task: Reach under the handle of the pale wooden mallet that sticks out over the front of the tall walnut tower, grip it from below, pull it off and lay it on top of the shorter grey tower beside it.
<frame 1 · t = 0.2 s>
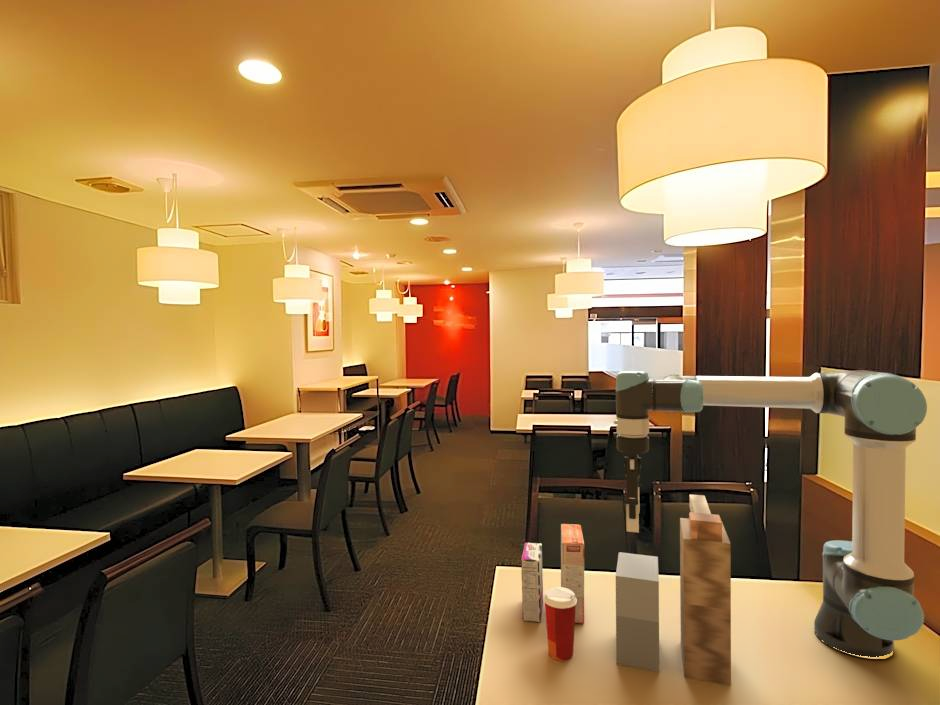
hand: (633, 521, 124), 28 cm above the table, tool pointing down, fingers open, 13 cm apart
short tower: (638, 650, 118), on the table
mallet: (701, 521, 117), point 30 cm above the table, touching tall tower
paper cup: (560, 654, 118), on the table
candy bar box: (532, 611, 136), on the table
cracker box: (572, 610, 136), on the table
tall tower: (704, 662, 113), on the table
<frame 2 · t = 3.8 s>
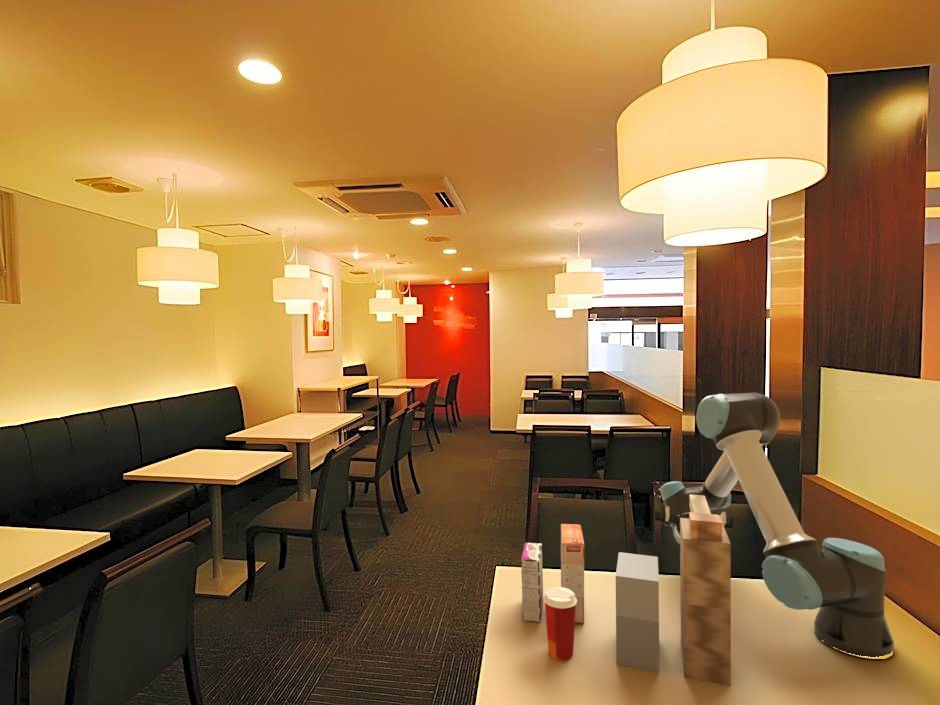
hand: (695, 514, 133), 26 cm above the table, tool pointing upward, fingers open, 13 cm apart
nothing on the table moved.
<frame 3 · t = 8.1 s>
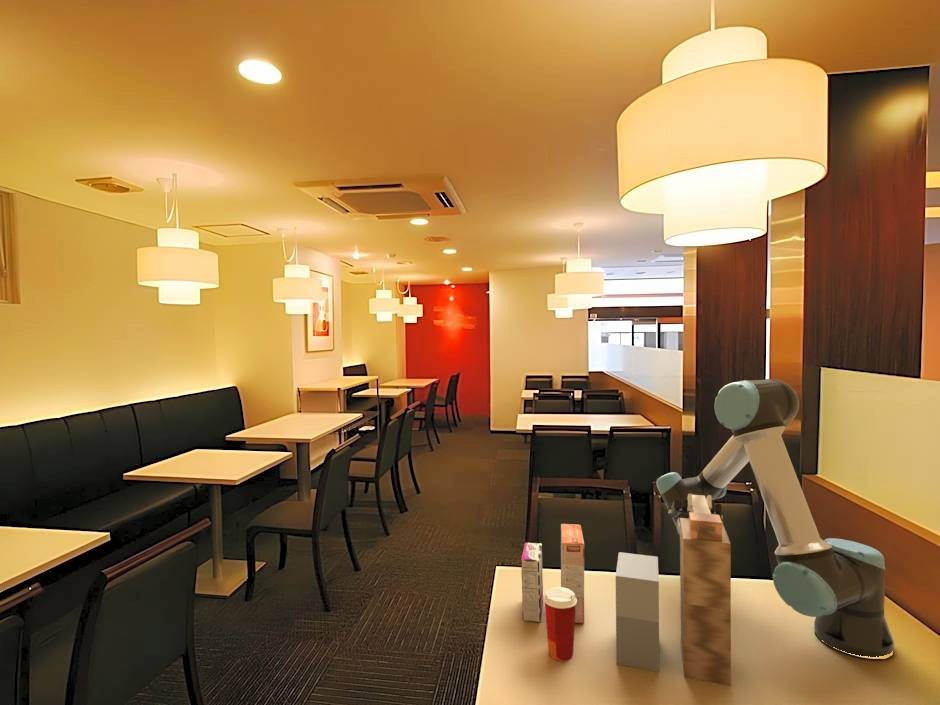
hand: (700, 500, 120), 34 cm above the table, tool pointing upward, fingers closed on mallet, 3 cm apart
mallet: (701, 521, 117), point 30 cm above the table, touching gripper, tall tower
everything else where it was.
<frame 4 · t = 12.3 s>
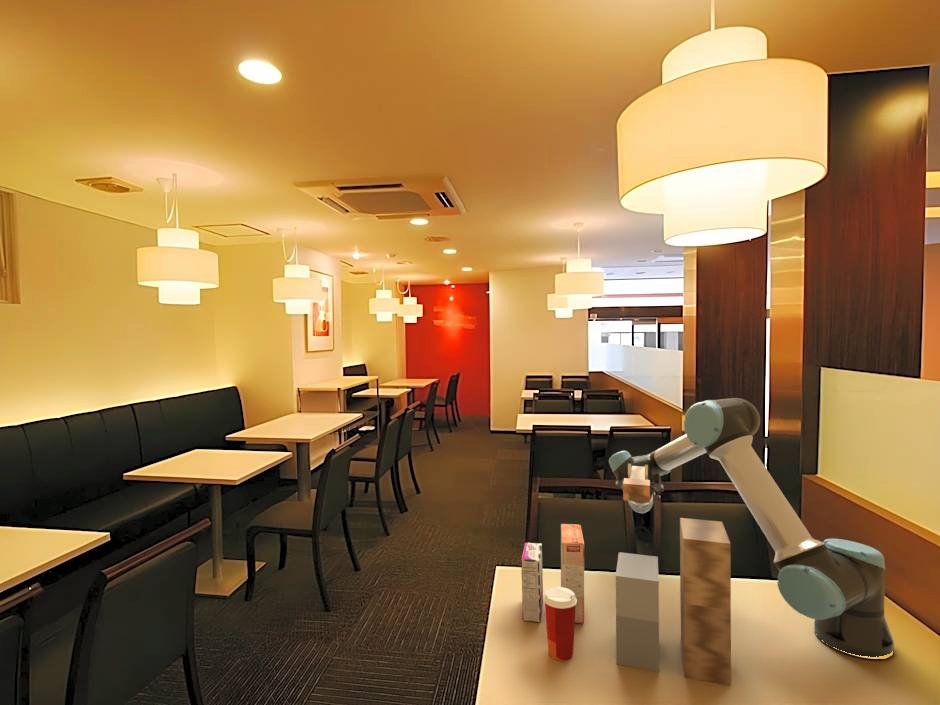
hand: (637, 469, 133), 38 cm above the table, tool pointing upward, fingers closed on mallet, 3 cm apart
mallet: (637, 488, 131), point 34 cm above the table, touching gripper
everything else where it was.
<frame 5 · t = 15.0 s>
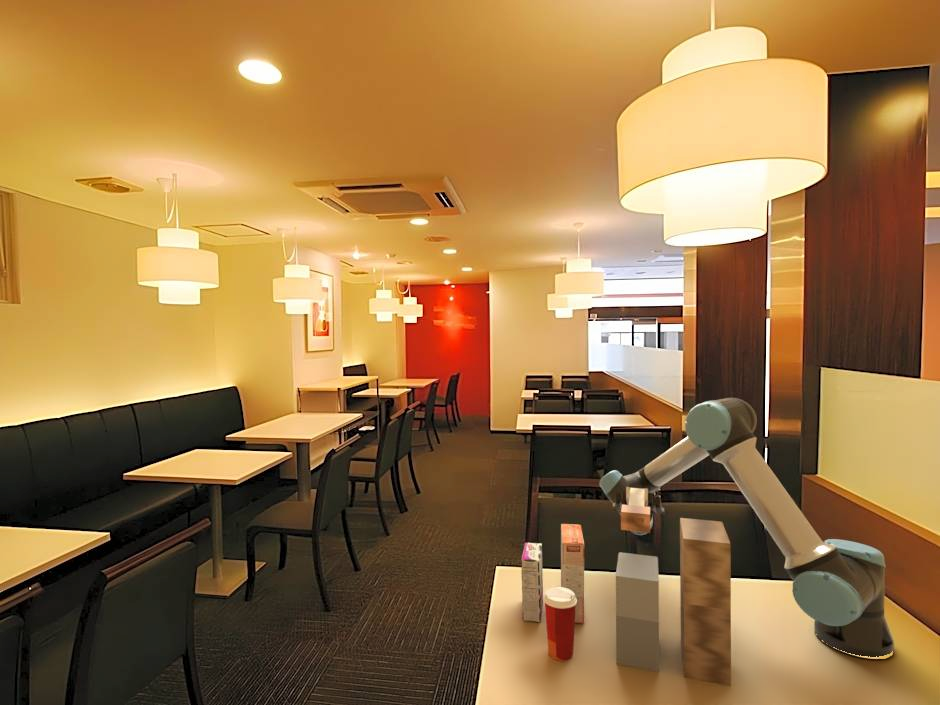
hand: (636, 493, 123), 35 cm above the table, tool pointing upward, fingers closed on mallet, 3 cm apart
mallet: (636, 514, 120), point 31 cm above the table, touching gripper
everything else where it was.
when the fingers open (27 cm above the table, at t = 17.0 s): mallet drops 3 cm, resting on short tower.
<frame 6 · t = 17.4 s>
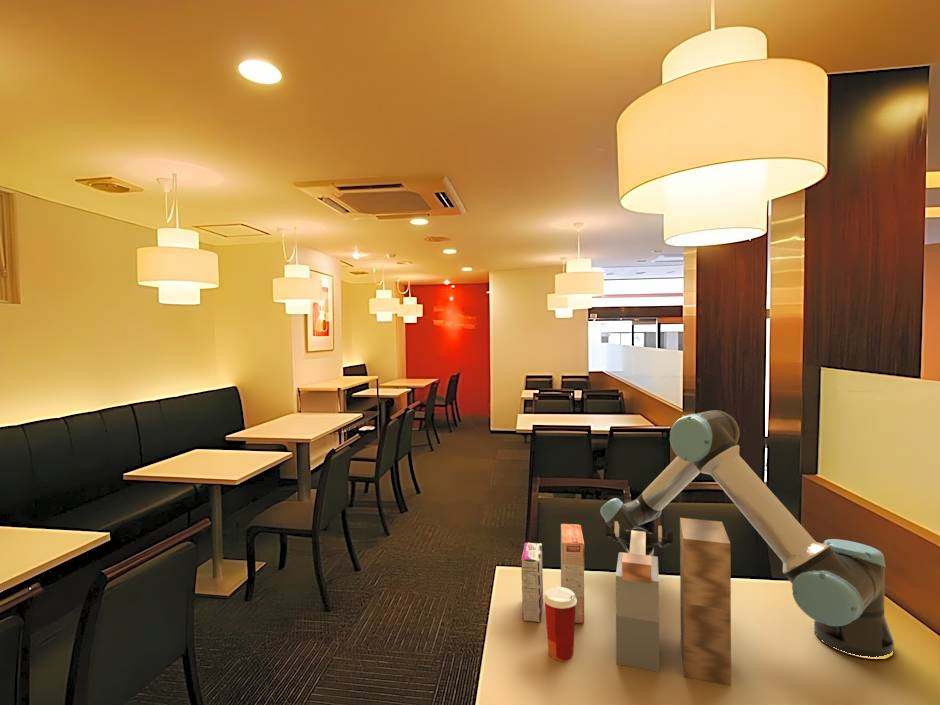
hand: (637, 529, 123), 26 cm above the table, tool pointing upward, fingers open, 9 cm apart
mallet: (637, 560, 120), point 20 cm above the table, touching short tower
everything else where it was.
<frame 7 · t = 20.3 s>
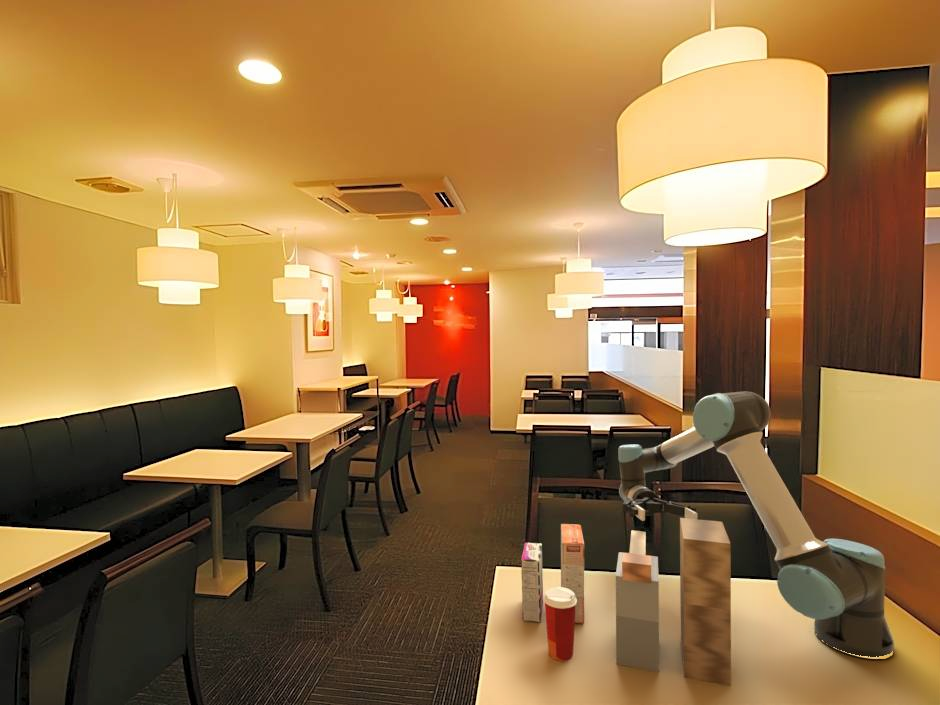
hand: (669, 517, 132), 26 cm above the table, tool horizontal, fingers open, 13 cm apart
nothing on the table moved.
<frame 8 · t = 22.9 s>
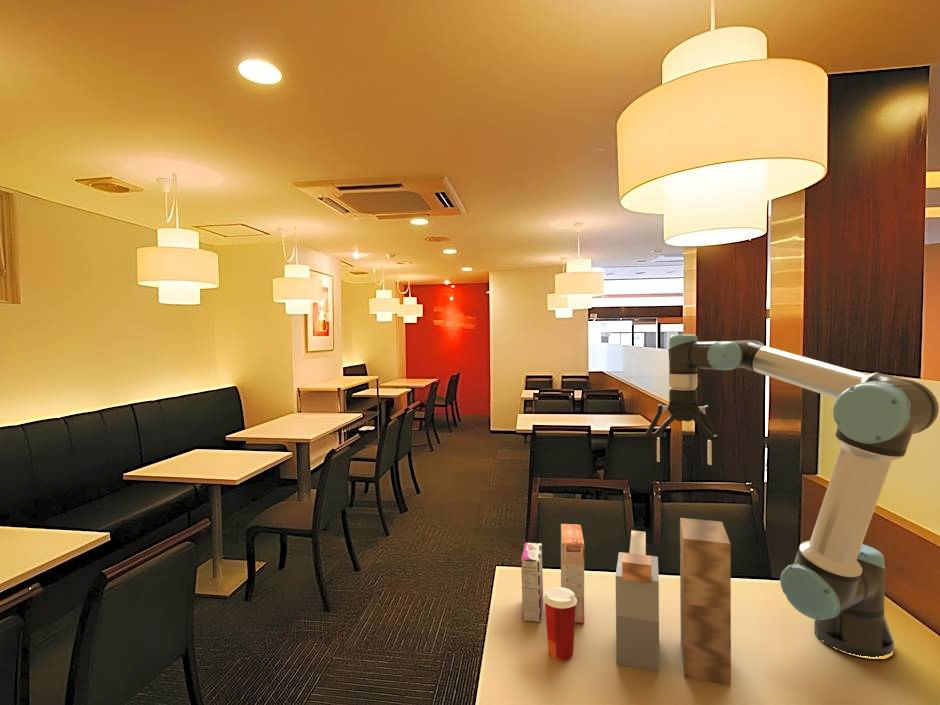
hand: (683, 462, 146), 37 cm above the table, tool pointing down, fingers open, 13 cm apart
nothing on the table moved.
at the end: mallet inside the target area on the short tower (0.5 cm from its centre), point 20.0 cm above the short tower's base; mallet tilted 0°; the gripper is holding nothing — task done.
